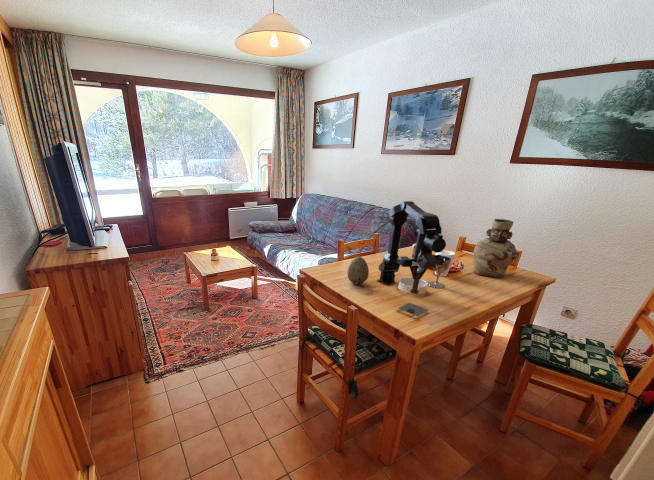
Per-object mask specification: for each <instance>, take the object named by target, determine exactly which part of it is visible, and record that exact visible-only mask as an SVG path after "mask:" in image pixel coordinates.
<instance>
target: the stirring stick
mask: <svg viewBox="0 0 654 480" xmlns="http://www.w3.org/2000/svg"><path fill="white" fill-rule="evenodd" d="M420 274H421V272H420V271H419V270H417V274H416V278H415V279H414V282H413V287H412V289H410V293H412V294H411V295H419V294H418V293H419V290H417V289H418V284H419V279H420ZM410 293H409V294H410Z"/></svg>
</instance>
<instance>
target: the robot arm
mask: <svg viewBox="0 0 654 480" xmlns="http://www.w3.org/2000/svg"><path fill="white" fill-rule="evenodd" d="M408 216H410V217H411V219H413V220H415V225H416V226H417V228H418V229H416V230H415V232H416V233H417V238H416V242H415V243H416V246H414V248H415V253H414V255H411V258H410V257H409V256H407V255H406V256H399V248H400V241H401V235H402V229H403V226H404V225H405V223H407V220H408ZM388 220H389V223H390V224H391V225H390V227H391V228H390V234H389V240H388V247H387V252H386V253H385V255H384V256H383V259H382V262H381V263H380V264H379V265H378V270H379V272H380V276H379V277H380V278H379V279H377V281H378V282H380V283H383V284H385V285H387V286H388V285H391V284H393V283H395V282H396V273H398V272H399V270H400V267H402V268H409V270H410V273H411V277H413V279H415V278H416V274H417V271H420V272H421V274H420V279H422V278H423V276H424V274H425V273H426V272H427V270H428V269H430V268H433V267H435V266H436V265H443V263H444V259H443V258H442V256H441V255H436V253H438V252H441V251H443V250H445V248H446V247H447V243H446V242H447V241H446V240H445V239H444V235H442V233H443V232H442V226H441V223H440V222H441V221H440V218H439V216H438V215H436V214H434V213H432V212H426V211H425V210H423V209H422V208H421V207H419V206H418V205H417V204H415V202H414V201H413V200H410V201H409V200H407V201H405V200H404V201H402V202H401V203H398V204H397V205H394V206H393V207H391V208H390V209H389V211H388ZM433 252H434V253H435V254H433ZM412 257H413V259H412ZM418 263H419V265H418Z"/></svg>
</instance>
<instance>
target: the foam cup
mask: <svg viewBox="0 0 654 480" xmlns="http://www.w3.org/2000/svg"><path fill="white" fill-rule="evenodd" d="M435 255H441V256H446V257H449V258H450V259H451V260H450V264H449V267H448V269H447V270H446V271H444V272H443V273H442V274H441V275H440V276H439V277H447V276H448V274H449V271H450V270H451V266H452V263H453V262H454V259H455V256H456V252H455V251H452V250H448V249H447V250H446V249H444V250H443V251H441V252H438V253H436V252H435ZM434 274H435V275H436V276H437V274H436V272H435V271H434Z"/></svg>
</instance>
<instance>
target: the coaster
mask: <svg viewBox="0 0 654 480" xmlns="http://www.w3.org/2000/svg"><path fill="white" fill-rule="evenodd" d="M398 310H401V311H403V312H406V313H408V314H411V315H413V316H415V317H420V316H421V315H423V314H424V313H426V312H428V311H429V309H427V308H424V307H422V306H419V305H416V304H414V303H411V302H408V303H406V304H403V305H402V306H401V307H398Z"/></svg>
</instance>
